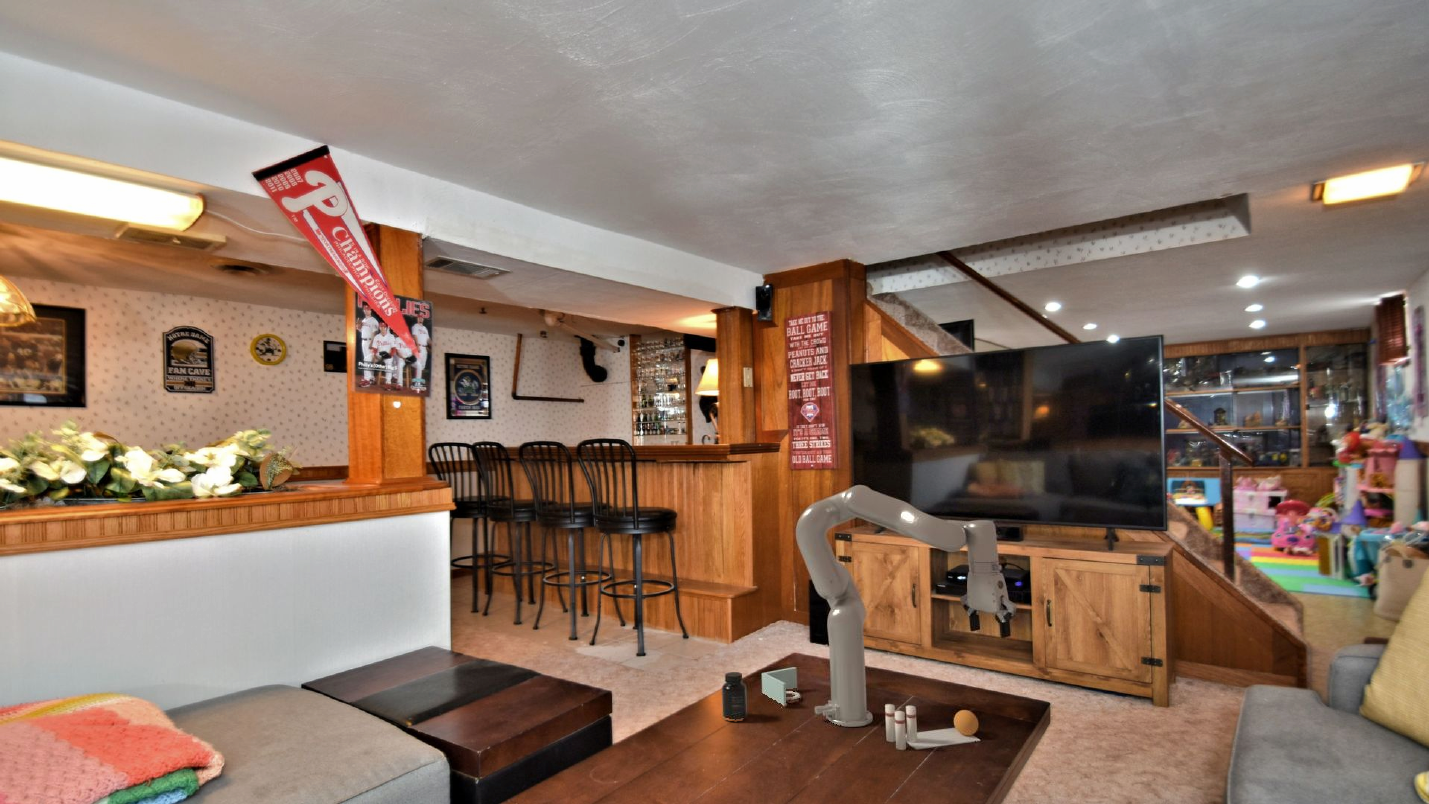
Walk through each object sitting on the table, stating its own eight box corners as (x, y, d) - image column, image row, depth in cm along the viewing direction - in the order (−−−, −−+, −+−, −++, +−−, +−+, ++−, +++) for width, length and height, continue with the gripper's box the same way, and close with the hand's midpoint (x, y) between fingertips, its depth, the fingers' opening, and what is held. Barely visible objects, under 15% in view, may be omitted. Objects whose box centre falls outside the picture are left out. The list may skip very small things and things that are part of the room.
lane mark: (916, 749, 174) (916, 748, 174) (898, 735, 183) (898, 734, 183) (980, 740, 179) (980, 739, 179) (959, 727, 187) (959, 726, 187)
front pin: (910, 744, 177) (908, 709, 178) (905, 740, 180) (903, 705, 181) (919, 742, 178) (917, 708, 179) (914, 739, 180) (912, 704, 181)
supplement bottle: (750, 715, 200) (749, 671, 201) (743, 723, 193) (742, 678, 194) (727, 712, 202) (726, 669, 203) (719, 721, 196) (718, 676, 197)
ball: (963, 740, 179) (961, 715, 180) (949, 731, 185) (948, 707, 185) (983, 737, 180) (982, 713, 181) (969, 729, 186) (968, 705, 187)
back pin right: (899, 750, 174) (897, 714, 175) (894, 746, 176) (892, 711, 177) (908, 749, 175) (906, 713, 175) (903, 745, 177) (901, 710, 178)
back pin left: (889, 742, 179) (887, 707, 179) (884, 738, 181) (883, 704, 182) (898, 741, 179) (896, 706, 180) (893, 737, 182) (892, 703, 182)
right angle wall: (784, 710, 204) (783, 683, 205) (762, 698, 215) (761, 673, 215) (818, 703, 210) (817, 677, 210) (795, 691, 220) (794, 666, 221)
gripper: (1021, 569, 182) (1028, 637, 181) (968, 563, 197) (973, 625, 196) (1001, 572, 178) (1008, 642, 177) (948, 566, 193) (954, 630, 192)
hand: (990, 633), depth 186 cm, fingers open, 9 cm apart
